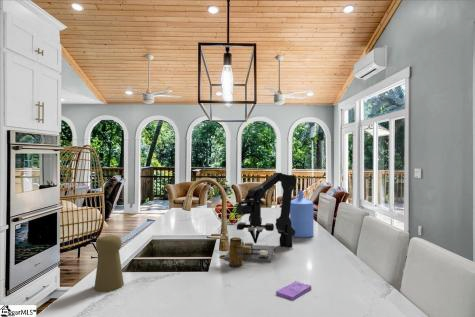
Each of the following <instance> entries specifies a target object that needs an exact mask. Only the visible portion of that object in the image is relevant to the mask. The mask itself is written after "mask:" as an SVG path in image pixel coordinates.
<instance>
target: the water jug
mask: <svg viewBox="0 0 475 317" xmlns="http://www.w3.org/2000/svg"><path fill="white" fill-rule="evenodd" d="M297 192H298V193H297V197H296V198H294V199H291V206H290V215H289V217H290V220H291V225H292V228H293V229H294V230H295V235H293V236H292V238H293V237H294V238H299V239H301V238H302V239H306V238H312V237H313V236H314V235H315V234H314V232H315V231H314V220H315V219H314V202H313V201H311V200H309V199H307V198H305V197H304V191H303V190H298V191H297Z"/></svg>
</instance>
